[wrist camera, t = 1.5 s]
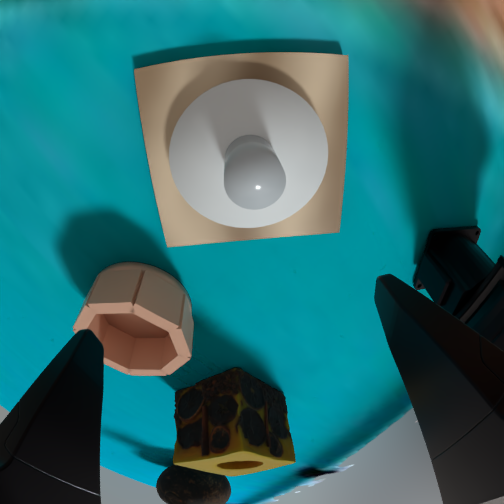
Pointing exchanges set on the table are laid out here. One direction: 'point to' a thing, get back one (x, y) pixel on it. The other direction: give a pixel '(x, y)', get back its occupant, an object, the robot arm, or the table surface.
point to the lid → (248, 153)
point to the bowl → (139, 319)
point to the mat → (233, 68)
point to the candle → (232, 426)
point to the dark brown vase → (192, 486)
